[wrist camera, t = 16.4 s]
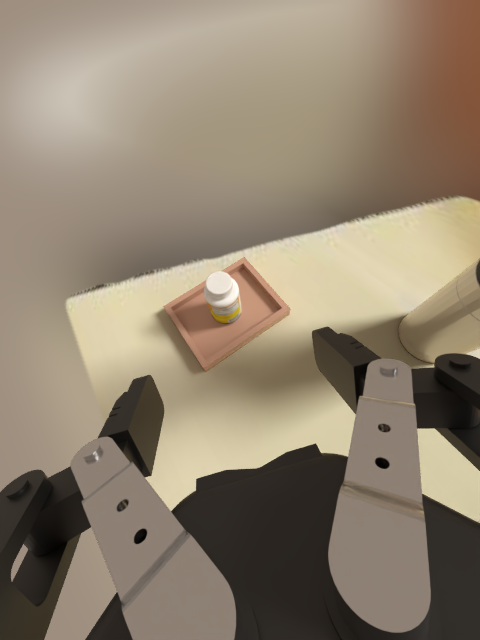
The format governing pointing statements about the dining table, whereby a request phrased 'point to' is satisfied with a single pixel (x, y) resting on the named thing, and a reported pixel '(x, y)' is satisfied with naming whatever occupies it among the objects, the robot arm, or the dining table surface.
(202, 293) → the tray
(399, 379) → the robot arm
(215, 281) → the supplement bottle
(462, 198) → the dining table surface
